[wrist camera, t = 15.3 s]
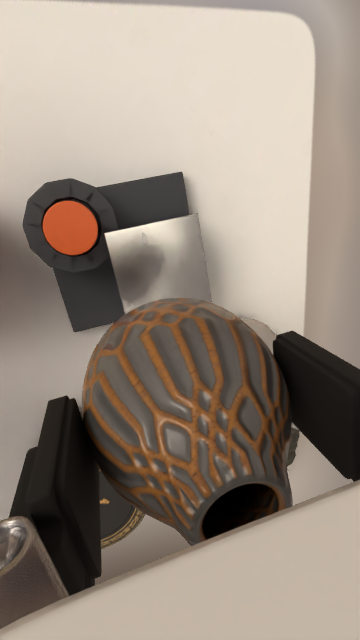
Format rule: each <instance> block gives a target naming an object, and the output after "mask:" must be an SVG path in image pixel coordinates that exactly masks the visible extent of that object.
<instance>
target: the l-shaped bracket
mask: <svg viewBox="0 0 360 640" xmlns="http://www.w3.org/2000/svg"><path fill="white" fill-rule="evenodd" d="M62 201H74V202H78V203H80V204H82V205H84V206H85V207H87V208H88V209H89V210H90V211H91V212H92V214H93V215H94V217H95V219H96V222H97V225H98V235H97V239H96V241H95V243H94V245H93V246H92V247H91V248H90V249H89V250H88V251H86V252H84V253H82V254H79V255H67V254H63V253H61V252H59V251H57V250H56V249H54V248H53V247H52V246H51V245H50V244H49V242H48V241H47V239H46V237H45V235H44V231H43V219H44V216H45V214H46V212H47V211H48V210H49V208H50V207H52V206H53V205H54V204H56V203H58V202H62ZM186 215H189V209H188V203H187V197H186V191H185V185H184V179H183V173H182V172H178V173H172V174H167V175H162V176H156V177H151V178H145V179H140V180H135V181H129V182H124V183H118V184H113V185H108V186H102V187H97V188H95V187H93V186H91V185H88V184H85V183H83V182H80V181H77V180H75V179H70V178H69V179H64V180H58V181H53V182H47V183H45V184H44V185H43V186H42V187H41V188H40V189H39V190H38V191H37V192H36V193H35V194H33V195H32V196H31V197H30V198H29V199H28V201H27V206H26V210H25V215H24V220H23V228H24V231H25V234H26V237H27V240H28V242H29V245H30V248H31V249H32V251H33V252H34V253H36V254H37V255H38V256H39V257H40V258H41V259H42V260H43V261H44V262H45V263H46V264H47V265H49V266H50V267H52V268H53V270H54V273H55V276H56V279H57V282H58V285H59V288H60V291H61V294H62V297H63V300H64V303H65V306H66V309H67V312H68V315H69V319H70V322H71V325H72V328H73V331H74V332H78V331H82V330H86V329H89V328H93V327H97V326H101V325H105V324H109V323H112V322H116V321H117V320H118V319H120V318H121V317H122V316H123V315H125V312H124V308H123V304H122V301H121V297H120V293H119V289H118V285H117V281H116V278H115V274H114V270H113V266H112V262H111V259H110V255H109V251H108V247H107V243H106V240H105V236H104V233H106V232H110V231H115V230H120V229H125V228H129V227H134V226H139V225H144V224H148V223H153V222H158V221H163V220H167V219H172V218H177V217H182V216H186Z"/></svg>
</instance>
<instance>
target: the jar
mask: <svg viewBox="0 0 360 640" xmlns="http://www.w3.org/2000/svg"><path fill="white" fill-rule="evenodd" d="M80 414H81V417H82V411H81V412H80ZM82 420H83V417H82ZM98 467H99V466H98ZM99 484H100V528H101V549H103V548H105V547H108V546H111V545H113V544H115V543H117V542H118V541H120V540H122V539H123V538H125V537H126V536H127V535H129V534H130V533H131V532H132V531H133V530H134V529H135V528H136V527H137V526H138V524H139V523H140V522H141V521H142V519H143V517H144V516H145V513H143V512H142V511H140V510H138V509H137V508H135V507H134V506H132V505H131V504H130V503H128V502H127V501H126V500H125V499H124V498H122V497H121V496H120V495H119V494H118V493H117V492H116V491H115V489H114V488H113V487H112V486H111V485H110V483H109V482H108V481H107V479H106V478H105V476H104V475H103V473H102V472H101V470H100V468H99Z"/></svg>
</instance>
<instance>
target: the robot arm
mask: <svg viewBox="0 0 360 640" xmlns="http://www.w3.org/2000/svg"><path fill="white" fill-rule="evenodd" d="M273 356H274V357H275V359H276V361H277V363H278V365H279V367H280V369H281V371H282V374H283V376H284V379H285V381H286V385H287V388H288V392H289V396H290V401H291V412H292V423H293V424H294V425H295V426H296V427H297V428H298V429H299V430H300V431H301V432H302V433H303V434H304V435H305V436H306V437H307V438H308V439H309V441H310V442H311V443H312V444H313V445H314V446H315V447H316V448H317V449H318V450H319V451H320V452H321V453H322V454H323V455H324V456H325V457H326V458H327V459H328V460H329V461H330V463H331V464H333V466H334V467H335V468H336V469H337V470H338V471H339V472H340V473H341V474H342V475H343V476H344V477H345V478H347V479H352V480H353V481H354V482H353V483H350V484H348V485H345V486H343V487H340V488H337V489H335V490H332V491H330V492H327V493H325V494H322V495H319V496H317V497H314V498H312V499H309V500H307V501H304V502H301V503H299V504H296V505H294V506H291V507H289V508H286V509H284V510H281V511H279V512H276V513H273V514H271V515H268V516H266V517H263V518H261V519H258V520H256V521H253V522H251V523H248V524H246V525H243V526H241V527H238V528H235V529H233V530H230V531H228V532H225V533H223V534H220V535H218V536H215V537H213V538H210V539H208V540H205V541H203V542H200V543H198V544H195V545H193V546H190V547H188V548H185V549H183V550H180V551H178V552H175V553H173V554H170V555H168V556H165V557H163V558H160V559H158V560H155V561H153V562H150V563H148V564H146V565H143V566H141V567H138V568H136V569H133V570H130V571H128V572H126V573H123V574H121V575H119V576H116V577H114V578H111V579H109V580H107V581H104V582H102V583H99V584H97V585H95V580H94V579H95V578H97V577H100V576H101V528H100V484H99V467H98V465H97V463H96V460H95V458H94V456H93V454H92V452H91V449H90V446H89V444H88V441H87V437H86V433H85V429H84V424H83V420H82V417H81V414H80V411H79V408H78V405H77V402H76V400H75V398H73V399H69V398H68V396H64V397H60V398H57V399H53V400H50V401H49V402H48V405H47V409H46V414H45V418H44V422H43V426H42V430H41V434H40V438H39V442H38V447H34V448H31V449H29V450H28V452H27V454H26V458H25V461H24V465H23V469H22V472H21V476H20V479H19V483H18V486H17V490H16V494H15V497H14V501H13V504H12V508H11V511H10V515H9V518H7V519H4V520H2V521H0V640H360V369H358V368H356V367H354V366H353V365H351V364H349V363H348V362H346V361H344V360H342V359H341V358H339V357H337V356H335V355H334V354H332V353H330V352H329V351H327V350H325V349H324V348H321V347H320V346H318V345H317V344H315V343H313V342H311V341H310V340H308V339H306V338H305V337H303V336H301V335H299V334H298V333H296V332H294V331H290V332H286V333H283V334H279V335H277V336H276V340H274V341H273Z"/></svg>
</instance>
